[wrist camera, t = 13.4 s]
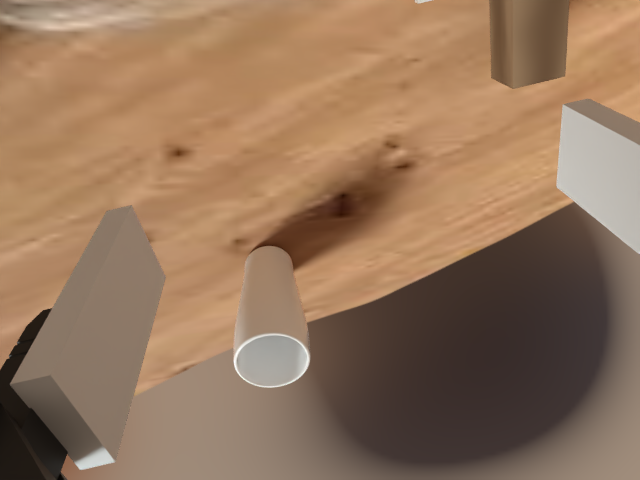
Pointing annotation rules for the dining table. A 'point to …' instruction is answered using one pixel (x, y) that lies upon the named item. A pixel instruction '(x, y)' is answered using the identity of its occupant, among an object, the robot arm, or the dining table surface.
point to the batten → (528, 40)
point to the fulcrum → (421, 1)
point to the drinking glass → (270, 322)
